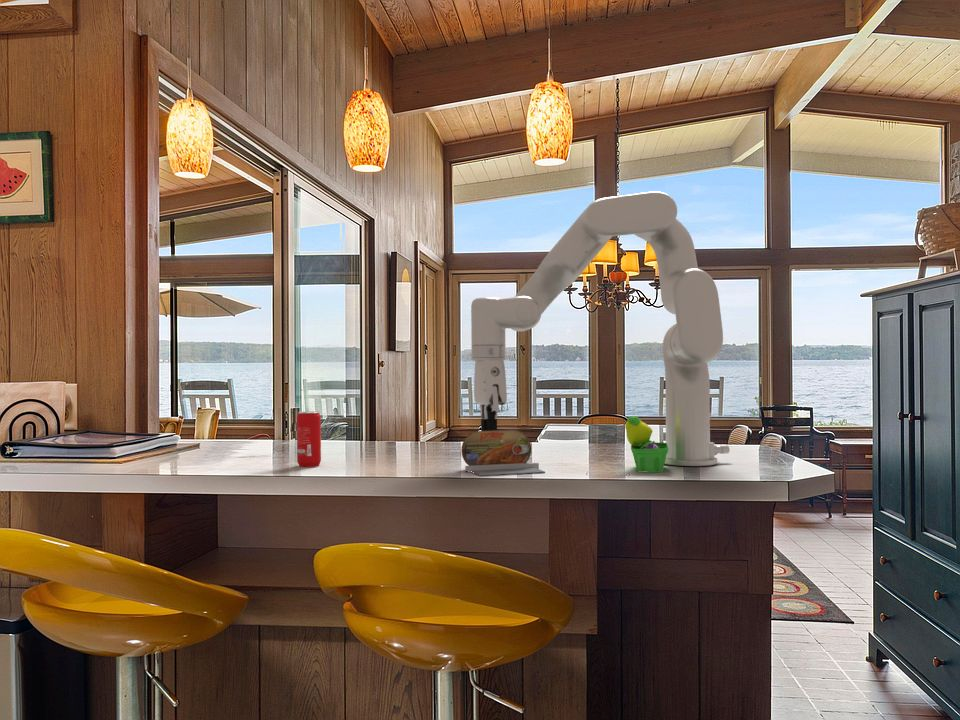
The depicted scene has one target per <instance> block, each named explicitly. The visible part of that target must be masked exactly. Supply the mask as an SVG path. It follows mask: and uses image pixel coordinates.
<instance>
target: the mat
mask: <svg viewBox="0 0 960 720" xmlns="http://www.w3.org/2000/svg"><path fill="white" fill-rule="evenodd" d="M539 465H540V463H539V462H526V463H518V464H497V465H476V466H469V465H465V466H464V468H465V469H464V472H465V471H472V472H474V473H476V474H478V475H496V476H502V475H501V474H516V475H528V474H527V473H535V474H545V473H546V471H545V470H542V469H540V467H539ZM472 472H471V473H472ZM474 473H473V474H474ZM476 474H475V475H476ZM478 475H477V476H478Z"/></svg>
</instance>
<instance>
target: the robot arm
mask: <svg viewBox="0 0 960 720" xmlns="http://www.w3.org/2000/svg"><path fill="white" fill-rule="evenodd" d="M677 216H678V206H677V204H676V201H675V200H674V198H673V197H671V196H670V195H669V194H667V193H665V192H663V191H662V192H661V191H648V192H647V191H646V192H640V193H633V194H625V195H617V196H608V197H602V198H598V199H596V200H594V201H592V202H591V203H590V204H589V205H588V206H587V207H586V208H585V209H584V210H583V211H582V213H581V214H580V215H579V216H578V217H577V218H576V220H574V222H573V223H572V225H570V227H569V228H568V229H567V230H566V231H565V233H564V234H563V236H561V238H560V239H559V240H558V241H557V242H556V243H555V245H554V246H553V247H552V248H551V249H550V250H549V252H548V253H547V255H546V256H545V257H544V258H543V260H542V261H541V263H540V264H539V266H538V267H537V269H535V271H534V273H533V274H532V275H531V276H530V278H528V280H527V281H526V282H525V284H524V285H523V286H522V287H521V288H520V290H519V291H518V292H517V293H516V294H515V296H513V297H504V298H500V297H491V296H490V297H489V296H487V297H478V298H475V299H473V300H472V302H471V304H470V305H471V307H470V308H471V310H470V312H471V313H470V315H471V316H470V318H471V319H470V321H471V323H470V324H471V325H470V327H471V330H470V331H471V338H470V339H471V344H470V345H471V349H470V350H471V361H475V362H474V377H473V381H474V382H473V394H474V395H473V396H474V397H473V398H474V402H475V403H476V404H477V405H479V409H480V431H495V430H498V412H499V409H500V407H499V406H505V405H506V404H507V402H508V396H507V377H506V376H507V375H506V368H505V361H506V329H511V330H512V331H515V332H526V331H528V330H532V329H533V328H535V327H536V326H537V325H538V324H539V322H540V320H541V317H542V315H543V314H544V312H546V310H547V309H548V307H550V305H551V304H552V303H553V302H554V301H555V299H556V298H557V297H558V296H559V295H560V294H561V293H562V292H564V291H565V290H566V289H567V288H568V287H570V286H571V285H573V283H574V282H575V281H576V280H577V279H578V278H579V277H580V276H581V275H582V273H583V272H584V271H585V270H586V269H587V267H589V265H590V263H591V262H592V261H593V260H594V259H595V258H596V257H597V255H598V254H599V253H600V252H601V251H602V250H603V248H604V247H605V246H606V245H607V243H608V242H609V241H610V240H611V239H612V237H616V236H617V237H618V236H628V235H635V236H636V237H638V238H640V239H642V240H644V241H646V242H647V243H648V244H649V245H650V246H651V248H652V250H653V252H654V255H655V258H656V259H655V260H656V263H657V264H656V265H657V269H658V277H659V278H658V279H659V286H660V288H659V289H660V298H661V303H662V305H663V307H664V308H665V310H666V311H667V312H669V313H670V314H672V315H675V322H676V323H675V324H673V325H671V326H670V328H668V329H667V331H666V332H665V334H664V337H663V341H662V356H663V365H664V373H665V374H664V375H665V376H664V378H665V443H667V445H668V448H669V450H668V453H667V455H666V459H665V464H664V465H669V466H680V467H706V466H713V465H714V466H715V465H717V464H718V458H717V457H715V456H717V455H718V454H724V455H725V454H729V453H730V446H729V445H728V444H719V445H717V444H715V442H713V441H712V442H711V421H710V420H711V414H710V413H711V411H710V409H711V406H710V404H711V403H710V398H711V397H710V396H711V395H710V392H711V388H710V387H711V386H710V384H711V382H710V374H709V373H710V371H709V368H708V367H709V366H708V363H710V362H712V361H713V360H715V359H716V358H717V357H718V356H719V354H720V353H721V351H722V348H723V344H724V333H723V332H724V331H723V329H724V328H723V323H722V315H721V306H720V305H721V304H720V297H719V293H718V292H719V291H718V288H717V285H716V282H715V281H714V279H713V278H712V276H711V275H710V274H709V273H707V272H706V271H705V270H703V269H700V268H699V266H698V261H697V255H696V250H695V245H694V241H693V239H692V236H691V234H690V231H688V229H687V227H685V225H684V224H683V223H682V222H681V221H680V220H679V219H677Z"/></svg>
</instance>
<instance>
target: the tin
mask: <svg viewBox="0 0 960 720" xmlns="http://www.w3.org/2000/svg"><path fill="white" fill-rule="evenodd" d="M531 455H532V443H531V441H530V439H529V437H528V436H527V435H526V434H525V433H524V432H522V431H521V430H520V431H519V430H517V429H499V430H498V429H497V430H495V431H481V430H478V431H474V432H471V433H469V435H468V436H466V437H465V438H464V439H463V441H462V444H461V456H462V459H463V461H464V463H465V464H467V465H466V466H476V465H497V464H518V463H528V461H529V459H530V458H531Z"/></svg>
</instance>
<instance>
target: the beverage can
mask: <svg viewBox="0 0 960 720" xmlns="http://www.w3.org/2000/svg"><path fill="white" fill-rule="evenodd" d="M320 413H321V412H320V411H311V410H310V411H299V412H297V416H296V462H297V464H298V467H299V466H300V468H316V467H317V466H318V467H319V466H320V464H321V462H322V420H321V419H322V418H321V414H320Z"/></svg>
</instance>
